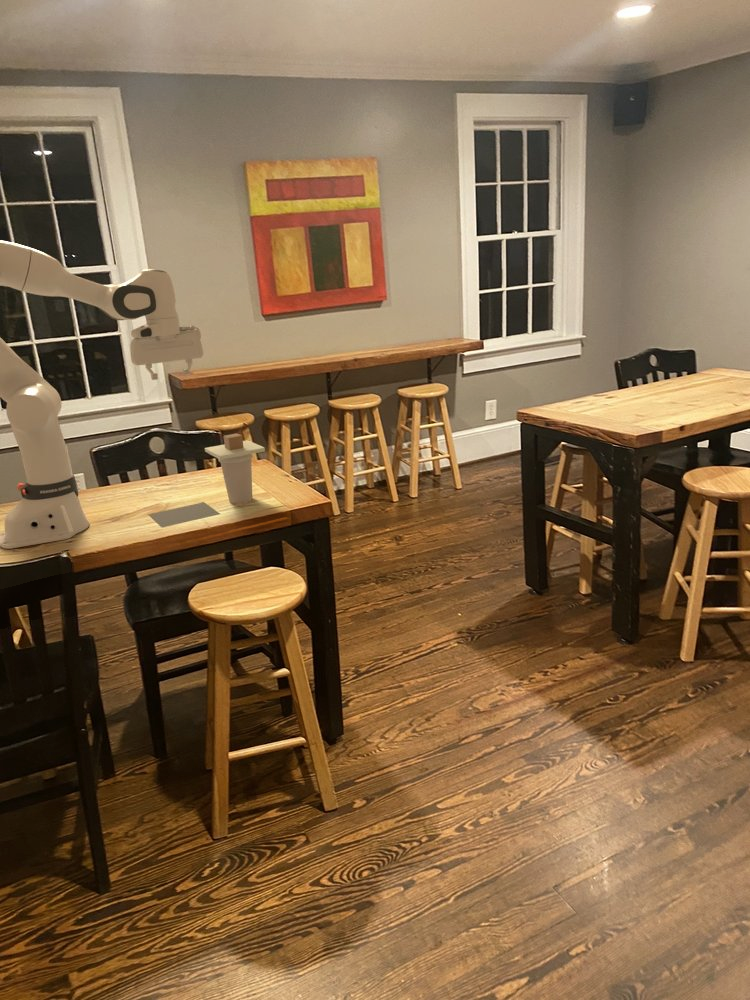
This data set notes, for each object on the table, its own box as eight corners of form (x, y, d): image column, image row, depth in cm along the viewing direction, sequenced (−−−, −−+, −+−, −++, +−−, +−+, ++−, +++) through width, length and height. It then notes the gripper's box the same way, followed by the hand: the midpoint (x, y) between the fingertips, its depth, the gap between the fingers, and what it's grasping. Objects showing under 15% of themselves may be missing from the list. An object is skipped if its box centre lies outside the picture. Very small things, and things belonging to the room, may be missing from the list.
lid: (220, 459, 194) (217, 443, 193) (205, 451, 205) (202, 436, 204) (265, 451, 200) (263, 435, 199) (248, 443, 211) (246, 428, 210)
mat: (162, 529, 189) (161, 527, 189) (148, 516, 200) (148, 514, 200) (220, 515, 196) (220, 513, 196) (204, 504, 208) (204, 502, 208)
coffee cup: (218, 507, 204) (211, 455, 199) (232, 496, 213) (226, 447, 208) (250, 507, 202) (243, 455, 197) (263, 497, 210) (257, 446, 206)
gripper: (195, 324, 213) (202, 372, 217) (125, 331, 203) (133, 381, 208) (202, 325, 208) (209, 373, 212) (130, 332, 198) (138, 383, 202)
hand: (171, 377), depth 210 cm, fingers open, 8 cm apart
